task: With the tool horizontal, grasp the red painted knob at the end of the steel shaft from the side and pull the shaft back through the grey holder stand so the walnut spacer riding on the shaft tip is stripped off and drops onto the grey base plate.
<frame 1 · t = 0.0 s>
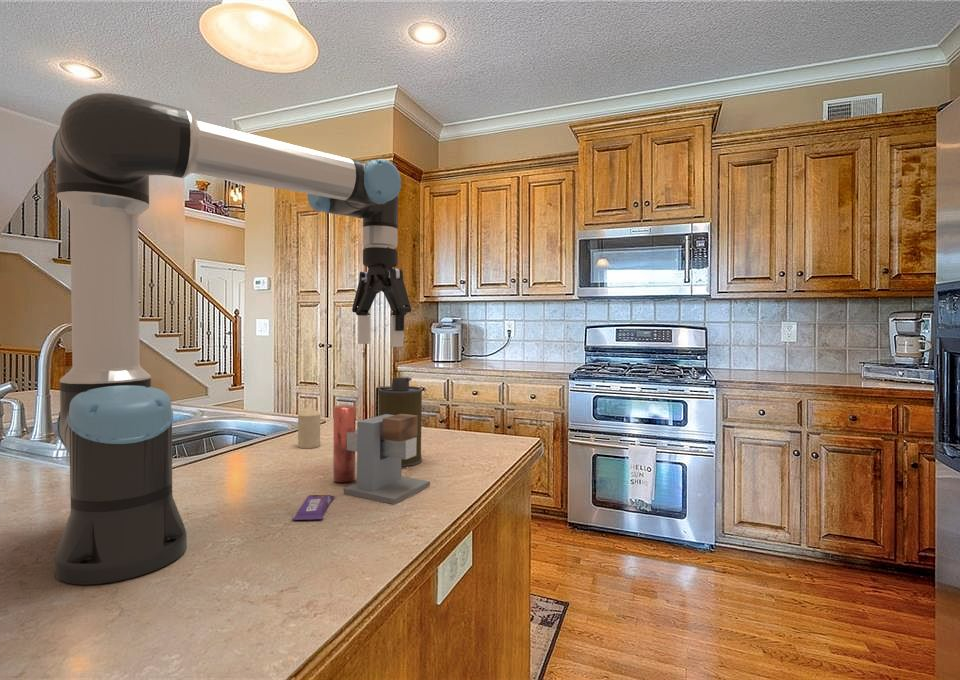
hand: (379, 345, 114), 28 cm above the counter, tool pointing down, fingers open, 13 cm apart
grey holder stand: (379, 488, 104), on the counter
snack package: (314, 513, 92), on the counter
spacer: (400, 437, 101), point 11 cm above the counter, touching shaft
canister: (398, 462, 123), on the counter
candle: (309, 447, 136), on the counter
shaft: (372, 447, 104), point 8 cm above the counter, slide at 0.0 cm, touching spacer
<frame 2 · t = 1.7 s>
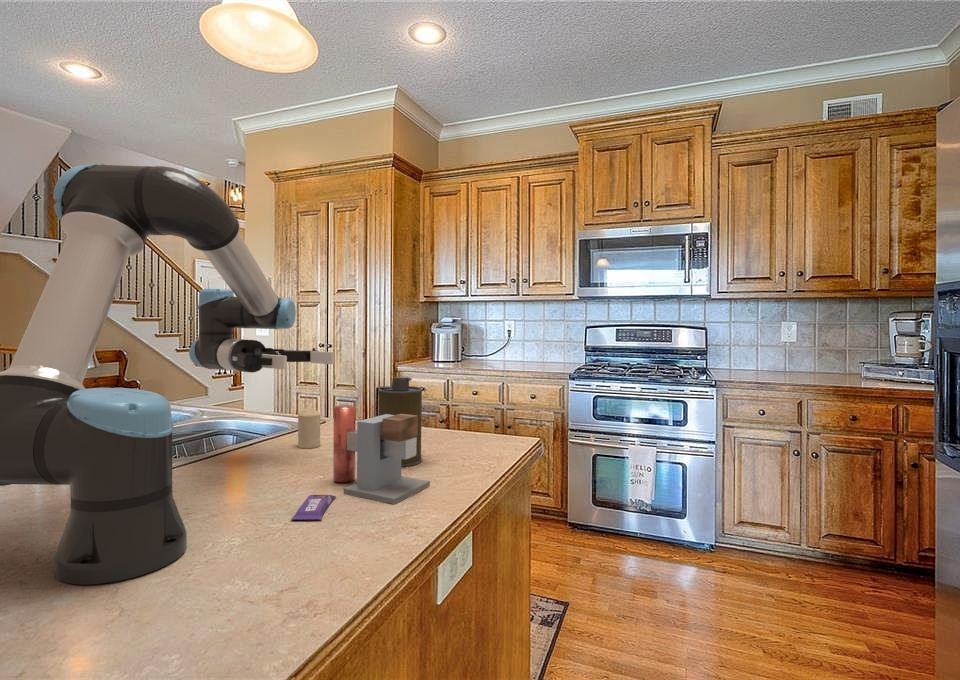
hand: (310, 360, 111), 25 cm above the counter, tool horizontal, fingers open, 13 cm apart
nothing on the counter moved.
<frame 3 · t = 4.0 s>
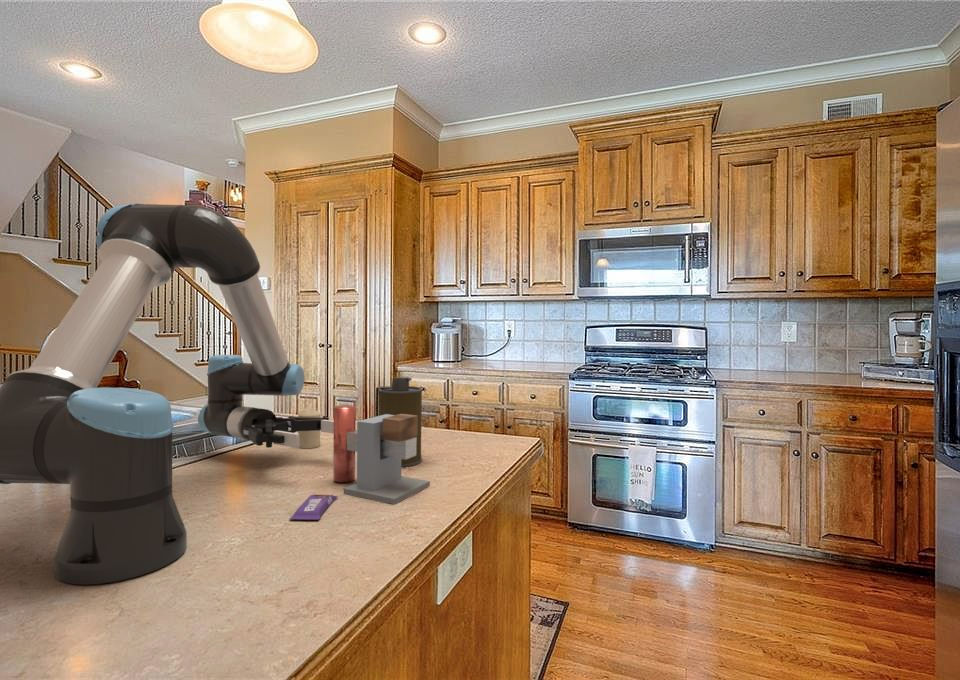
hand: (322, 434, 111), 9 cm above the counter, tool horizontal, fingers open, 13 cm apart
nothing on the counter moved.
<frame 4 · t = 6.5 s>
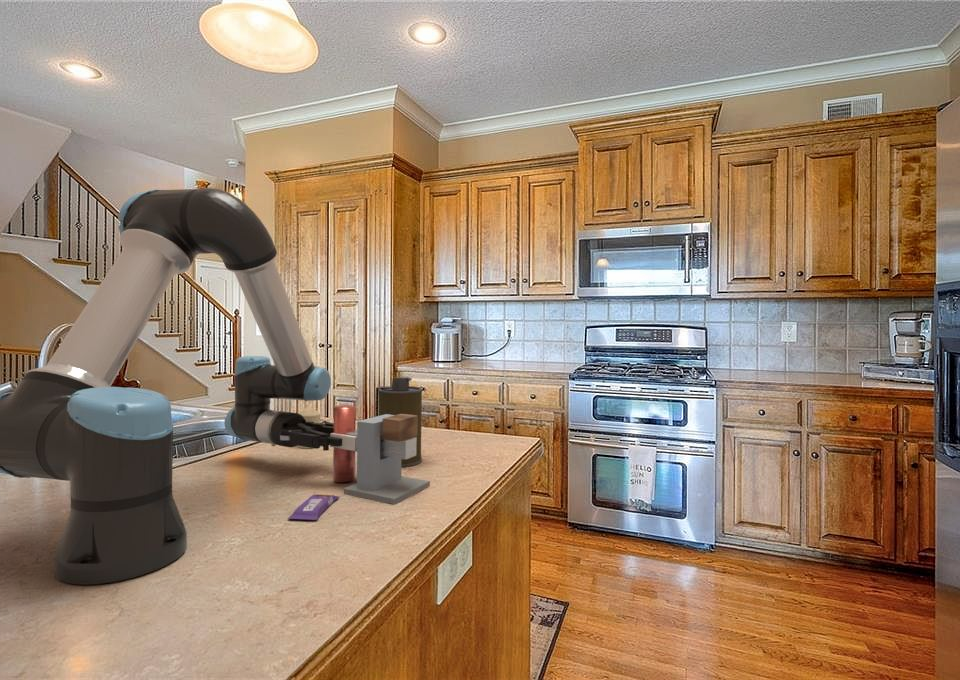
hand: (364, 441, 105), 9 cm above the counter, tool horizontal, fingers closed on shaft, 4 cm apart
shaft: (372, 447, 104), point 8 cm above the counter, slide at 0.0 cm, touching gripper, spacer
everything else where it was.
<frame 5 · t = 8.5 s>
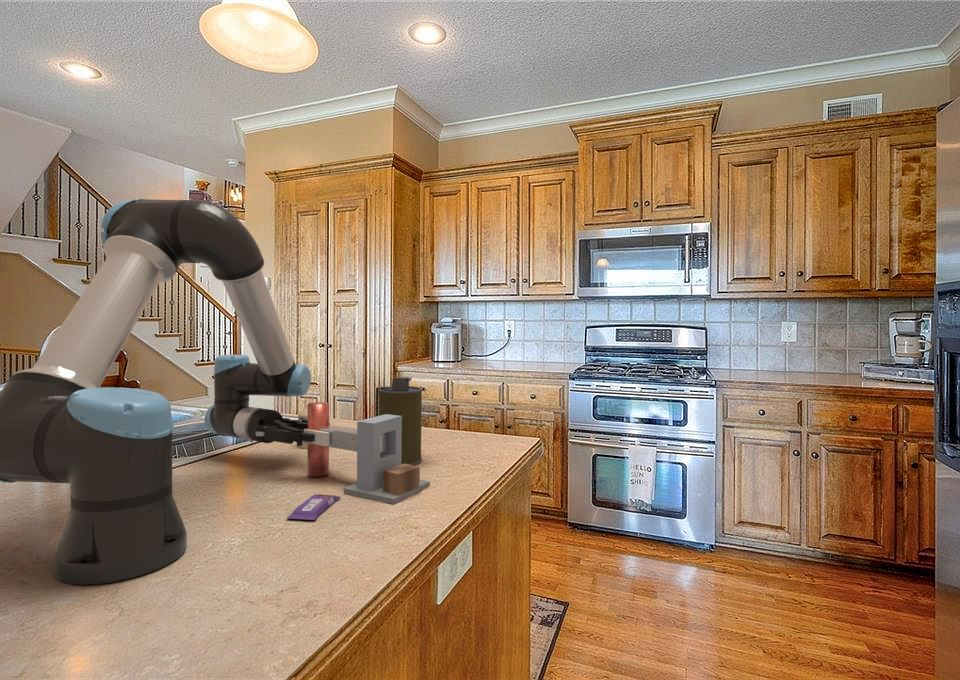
hand: (336, 436, 108), 9 cm above the counter, tool horizontal, fingers closed on shaft, 4 cm apart
spacer: (393, 477, 101), point 3 cm above the counter, tilted 90°, touching grey holder stand
shaft: (344, 442, 108), point 8 cm above the counter, slide at 7.2 cm, touching gripper
everything else where it was.
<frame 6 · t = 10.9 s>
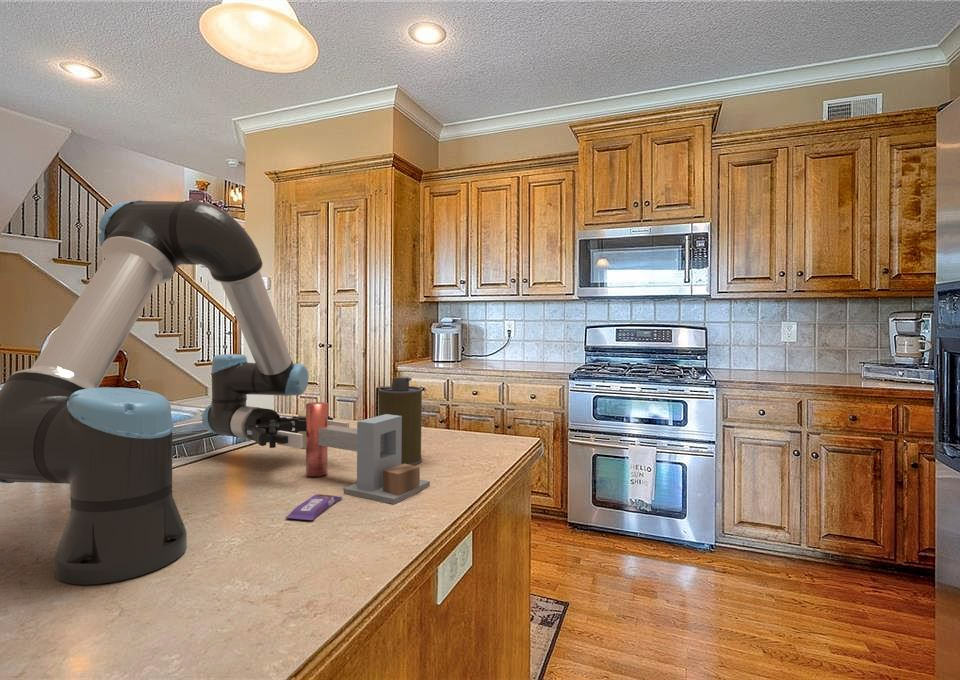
hand: (326, 434, 110), 9 cm above the counter, tool horizontal, fingers open, 13 cm apart
shaft: (342, 442, 108), point 8 cm above the counter, slide at 7.7 cm
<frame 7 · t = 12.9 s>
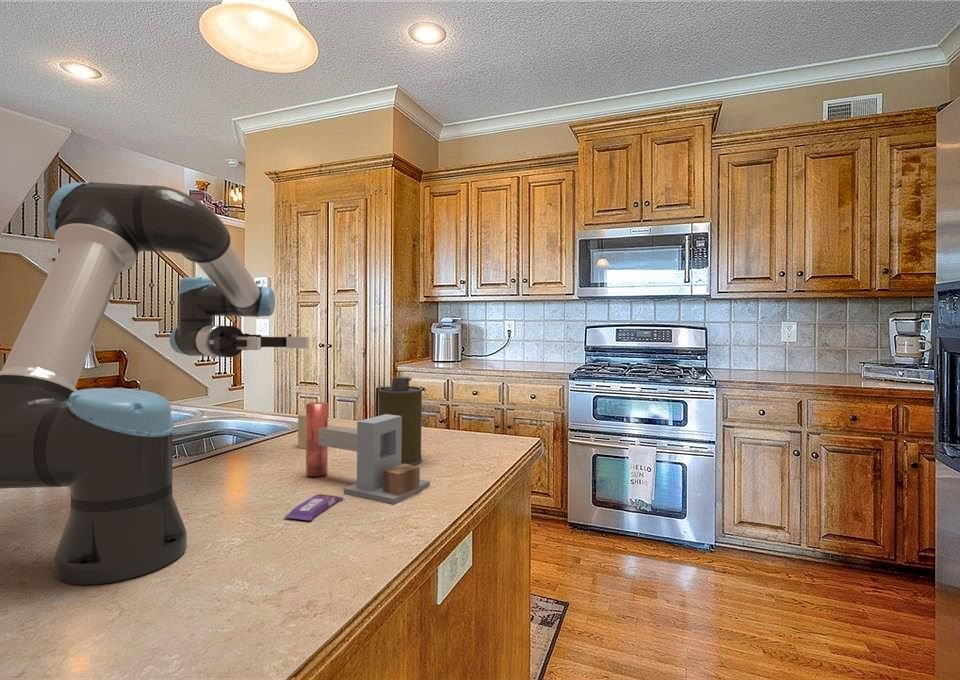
hand: (284, 343, 115), 28 cm above the counter, tool horizontal, fingers open, 13 cm apart
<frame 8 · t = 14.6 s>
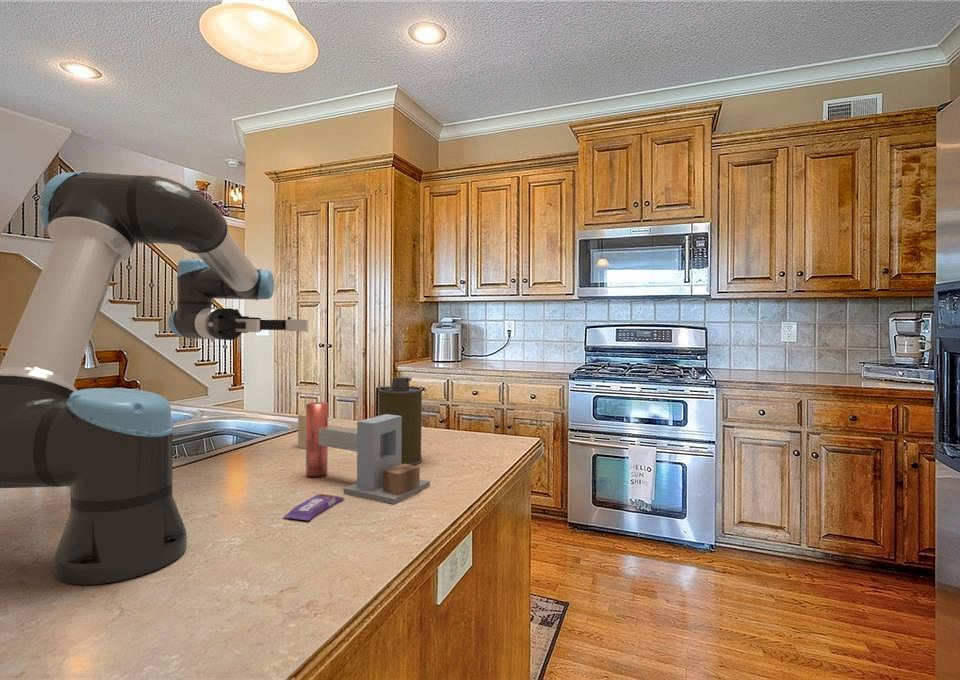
hand: (284, 325, 115), 32 cm above the counter, tool horizontal, fingers open, 13 cm apart
at the end: shaft slide at 7.7 cm; spacer point 3.0 cm above the counter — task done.
